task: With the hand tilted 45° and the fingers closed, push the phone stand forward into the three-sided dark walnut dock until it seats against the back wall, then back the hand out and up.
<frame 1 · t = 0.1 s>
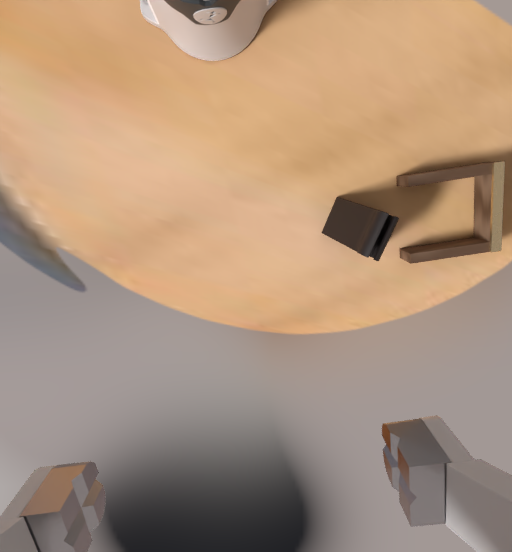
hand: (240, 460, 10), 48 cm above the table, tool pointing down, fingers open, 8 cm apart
dock: (436, 212, 56), on the table
phone stand: (354, 224, 56), on the table
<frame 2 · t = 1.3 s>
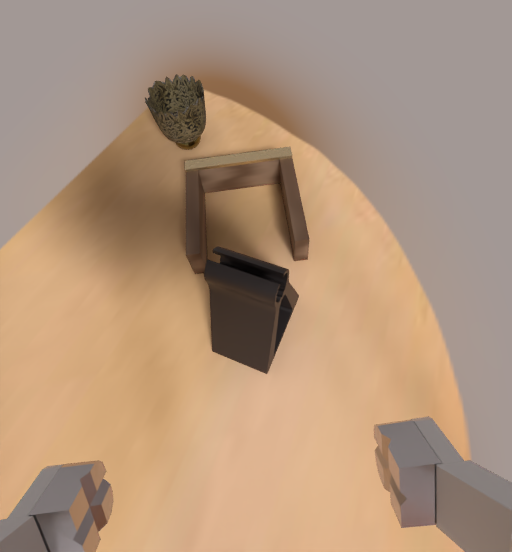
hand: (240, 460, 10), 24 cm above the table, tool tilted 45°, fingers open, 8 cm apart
cup: (189, 144, 51), on the table
dock: (246, 224, 43), on the table
phone stand: (257, 324, 37), on the table
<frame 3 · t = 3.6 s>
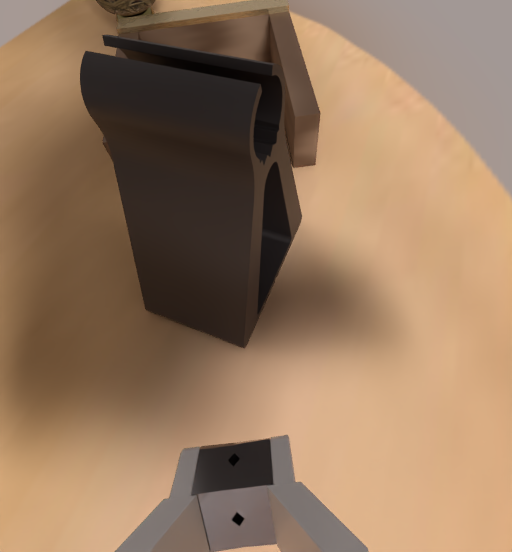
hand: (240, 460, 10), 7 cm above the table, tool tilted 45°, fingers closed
cup: (139, 27, 35), on the table
dock: (216, 120, 27), on the table
phone stand: (229, 265, 21), on the table
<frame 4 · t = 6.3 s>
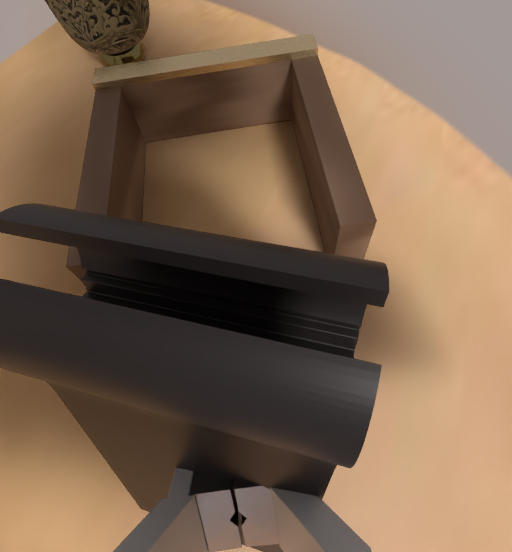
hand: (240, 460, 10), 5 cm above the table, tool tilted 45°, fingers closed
cup: (127, 65, 29), on the table
dock: (225, 198, 21), on the table
phone stand: (249, 410, 15), on the table, touching gripper
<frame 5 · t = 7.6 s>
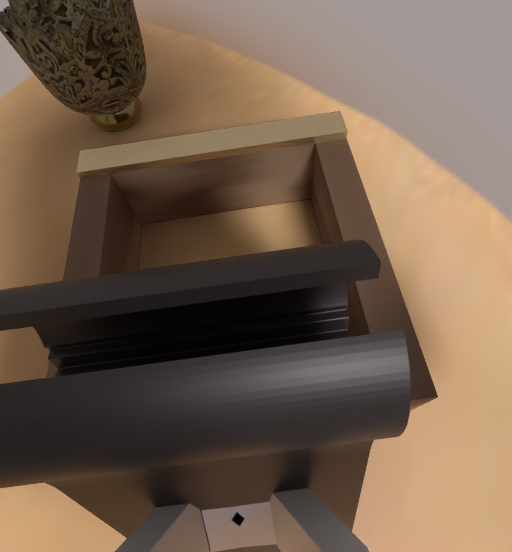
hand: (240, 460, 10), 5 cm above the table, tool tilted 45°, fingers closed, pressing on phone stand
cup: (121, 120, 26), on the table
dock: (234, 304, 18), on the table
phone stand: (250, 427, 15), on the table, touching gripper
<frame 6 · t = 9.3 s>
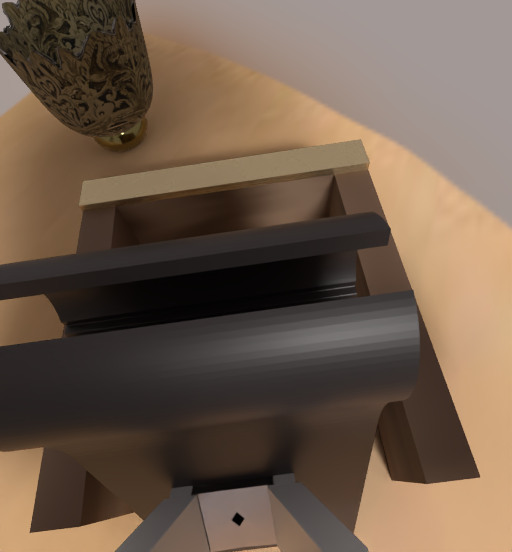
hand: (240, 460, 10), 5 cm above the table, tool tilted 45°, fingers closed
cup: (126, 139, 25), on the table
dock: (246, 346, 17), on the table
phone stand: (256, 415, 15), on the table
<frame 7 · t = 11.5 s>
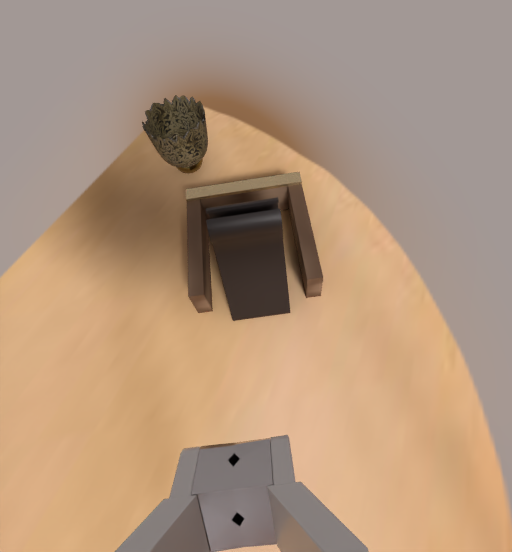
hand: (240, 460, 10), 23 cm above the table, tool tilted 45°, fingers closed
cup: (190, 166, 48), on the table
dock: (253, 256, 40), on the table
phone stand: (257, 280, 39), on the table
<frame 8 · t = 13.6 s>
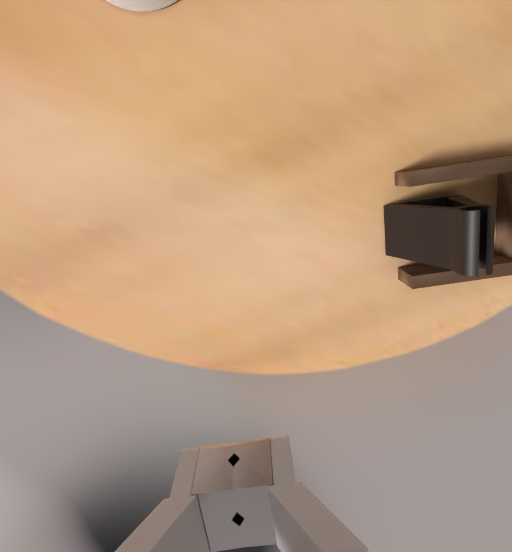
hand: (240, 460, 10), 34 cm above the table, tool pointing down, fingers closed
dock: (446, 220, 42), on the table
phone stand: (420, 224, 43), on the table
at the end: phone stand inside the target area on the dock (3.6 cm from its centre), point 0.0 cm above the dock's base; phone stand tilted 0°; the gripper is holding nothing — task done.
